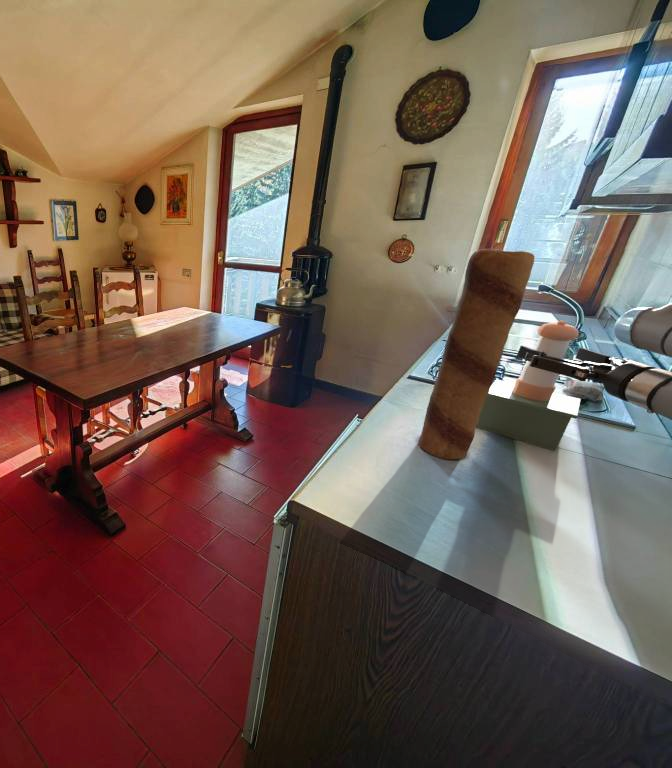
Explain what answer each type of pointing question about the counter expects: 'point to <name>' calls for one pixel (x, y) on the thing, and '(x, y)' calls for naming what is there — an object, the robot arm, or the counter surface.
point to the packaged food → (584, 390)
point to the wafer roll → (474, 349)
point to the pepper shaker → (553, 344)
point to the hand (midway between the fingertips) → (549, 351)
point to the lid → (554, 405)
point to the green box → (522, 422)
